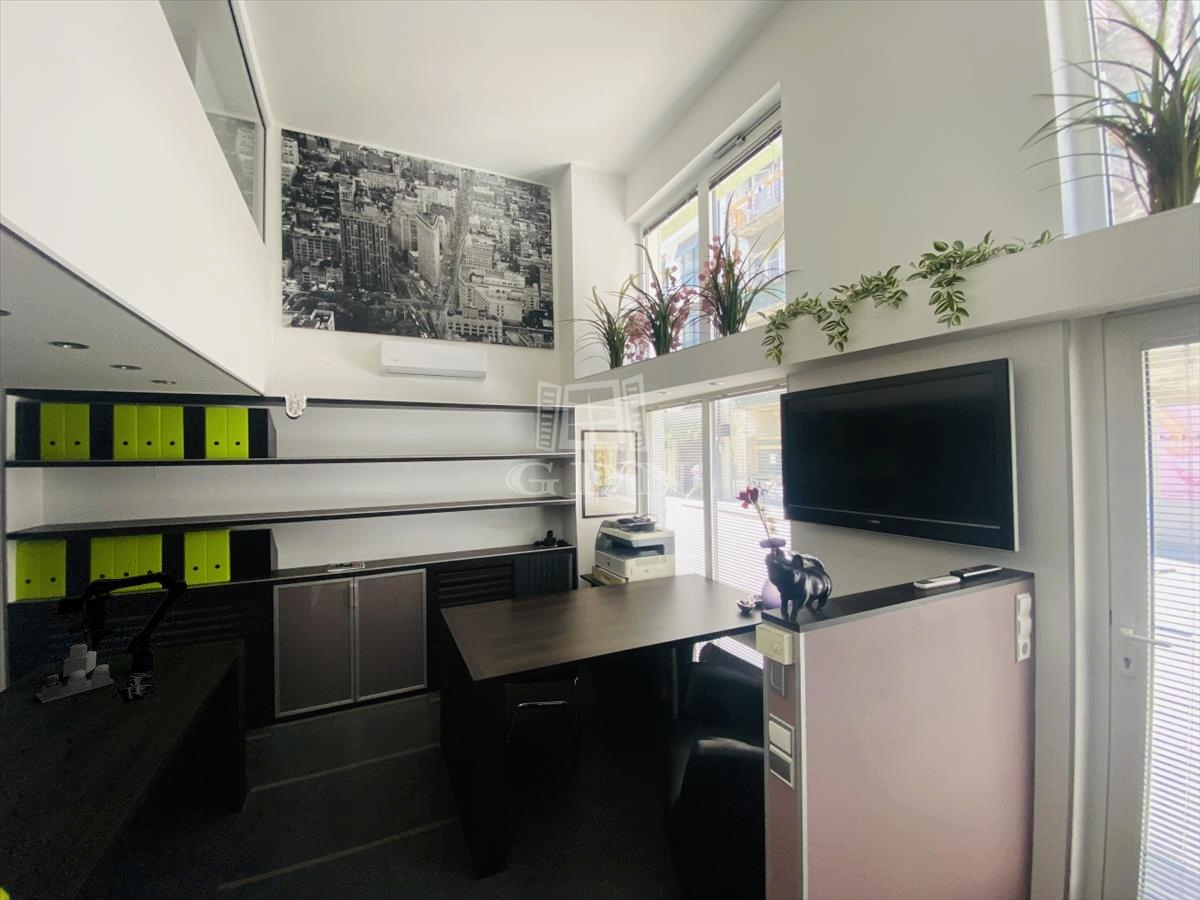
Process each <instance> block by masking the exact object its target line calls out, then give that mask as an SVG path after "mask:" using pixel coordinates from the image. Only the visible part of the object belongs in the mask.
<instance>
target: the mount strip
mask: <svg viewBox="0 0 1200 900" xmlns="http://www.w3.org/2000/svg"><path fill="white" fill-rule="evenodd" d="M110 676H111V671H110V670H108V672H106V673H103V674H97V675H95V674H94V672H92V673H91V679H88V680H87V677H86V676H85V677H84V678H83V679H80V680H75V681H70V678H68V679H67V685H65V686H63V684H62V683H61V682H60V681H56V686H52V687H48V686H49V683H46V684H44V685H42V686H41V692H40V693H36V697H37V699H38V698H39V699H38V700H39V701H40V703H42V704H44V703H47V702H51V701H56V700H58V699H61V698H65V697H66V698H67V697H68V696H72V695H75V694H80V693H83V692H86V691H90V690H95V689H98V688H102V687H106V686H108V685H109V686H110V685H112V684H115V680H114V679H112V678H111V677H110Z"/></svg>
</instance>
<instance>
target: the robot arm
mask: <svg viewBox="0 0 1200 900" xmlns="http://www.w3.org/2000/svg"><path fill="white" fill-rule="evenodd" d="M154 583H158V584H159V585H161V586H163V587H164V588H165V589H167V591H166V593H165V595H164V598H163V599H162V601H161V603H160V604H158V606H157V608H156V610H155V611H154V612H153V614H152V615H151V617H150V618H149V619H148V620H147V622H146V624H145V625H144V626H143V627H142V629H141V630H140V631H139V632H133V633H132V636H131V637H130V639H128V640H127V642H126V648H127V649H126V651H127V654H129V655H130V656H131V657H130V658H131V660H129V662H128V664H129V666H128V671H130V672H131V674H133V673H143V672H146V671H151V670H153V669H155V667H154V652H153V645H152V644H150V643H149V641H150V639H151V637H152V635H153V633H154V632H155V630H156V629H157V628H158V626H159V625H160V623H161V621H162V620H163V619H164V617H165V616H166V614H167V613H168V612H169V610H170V609H171V607H172V606H173V604H175V602H176V601H177V600H179V598H181V596H183V595H184V594H185V593H186V592H187V589H188V584H187V582H186V580H184V579H181V578H179V579H177V578H175V577H173V576H171V575H169V574H167V573H165V572H164V571H157V572H151V573H148V574H140V575H134V576H128V577H122V578H97V579H93V580H92V581H91V582H90V583H89V584H88V586H87V588H86V590H85V591H84V592H82V594H81V596H74V597H61V598H60V599H59V605H58V608H57V617H62V616H67V615H68V616H69V615H77V614H80V612H81V611H84V610H85V613H84V614H83V615H82V618H80V619H77V620H75V621H73V622H70V623H68V624H66V625H63V629H64V631H65V632H66V634H67V635H68V636H71V635H74V634H75V633H78V632H80V631H82V630H84V631H83V632H81V634H83V635H84V636H86V638H88V642H90V645H91V650H97V648H98V646H99V645H100V643H101V641H102V640H103V639H104V637H105V636H109V635H112V634H113V631H114V629H113V628H112V627H111V626H109V625H108V622H107V619H106V618H107V616H108V615H109V613H108V612H107V603H108V600H112V599H114V595H113V594H111V592H114V591H117V590H120V589H125V588H131V587H137V586H144V585H149V584H154ZM85 604H86V605H85ZM85 606H86V609H85Z"/></svg>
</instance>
